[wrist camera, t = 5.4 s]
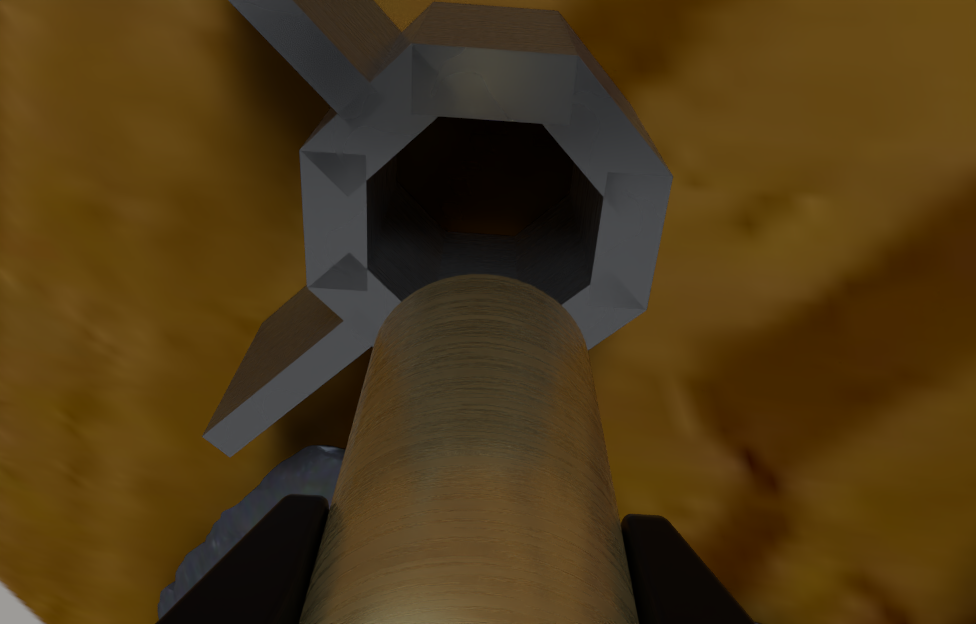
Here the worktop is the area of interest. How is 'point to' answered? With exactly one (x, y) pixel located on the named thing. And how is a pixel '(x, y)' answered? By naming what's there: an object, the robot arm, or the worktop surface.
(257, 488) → the dark slate chunk
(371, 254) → the grey hollow finned part
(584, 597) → the brass pin
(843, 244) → the worktop surface
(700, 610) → the robot arm
